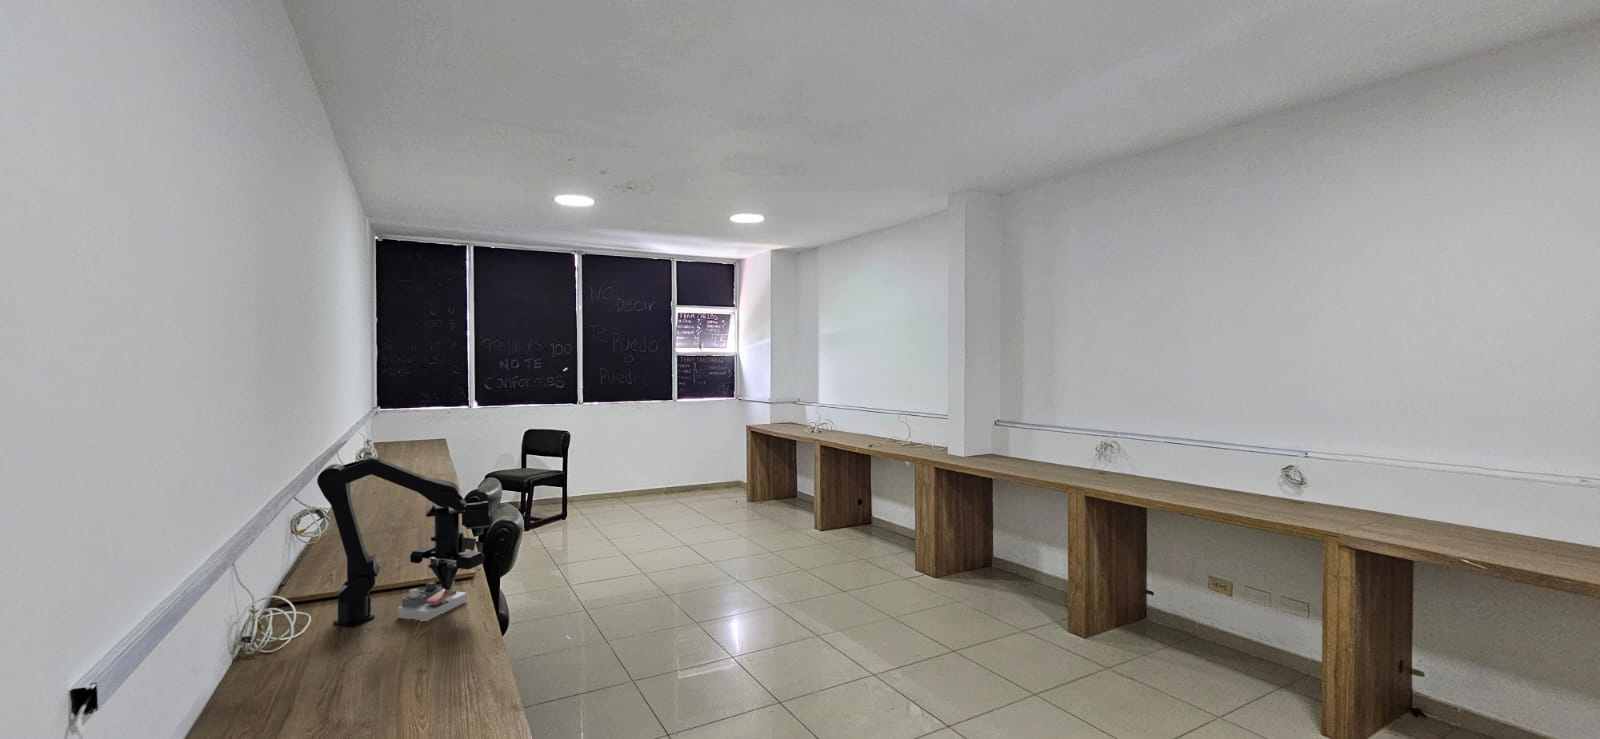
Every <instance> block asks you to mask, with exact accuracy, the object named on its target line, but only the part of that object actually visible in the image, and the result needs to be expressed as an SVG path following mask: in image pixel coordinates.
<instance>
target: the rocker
mask: <svg viewBox="0 0 1600 739" xmlns="http://www.w3.org/2000/svg"><path fill="white" fill-rule="evenodd" d="M453 590H454V589H453ZM453 590H445V589H442V590H441V591H439V592H438V593H436V594H435V595H433V596H432V597H430V598H429V599H427V600H426V604H431V605H437V604H438V603H440V602H441V601H443V600H444V599H446V598H447V597H448V596H450V595H451V594H453Z"/></svg>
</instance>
